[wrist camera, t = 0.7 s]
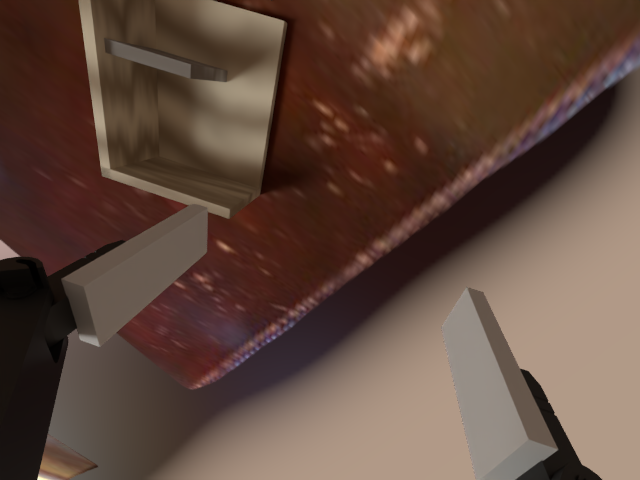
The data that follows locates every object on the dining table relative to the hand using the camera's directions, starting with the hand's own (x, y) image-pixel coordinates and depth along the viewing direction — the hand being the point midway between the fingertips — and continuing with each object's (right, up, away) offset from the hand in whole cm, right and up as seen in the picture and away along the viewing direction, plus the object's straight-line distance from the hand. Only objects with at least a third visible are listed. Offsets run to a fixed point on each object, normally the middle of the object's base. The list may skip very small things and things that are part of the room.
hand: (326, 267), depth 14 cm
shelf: (-14, +19, +21) cm, 32 cm away
